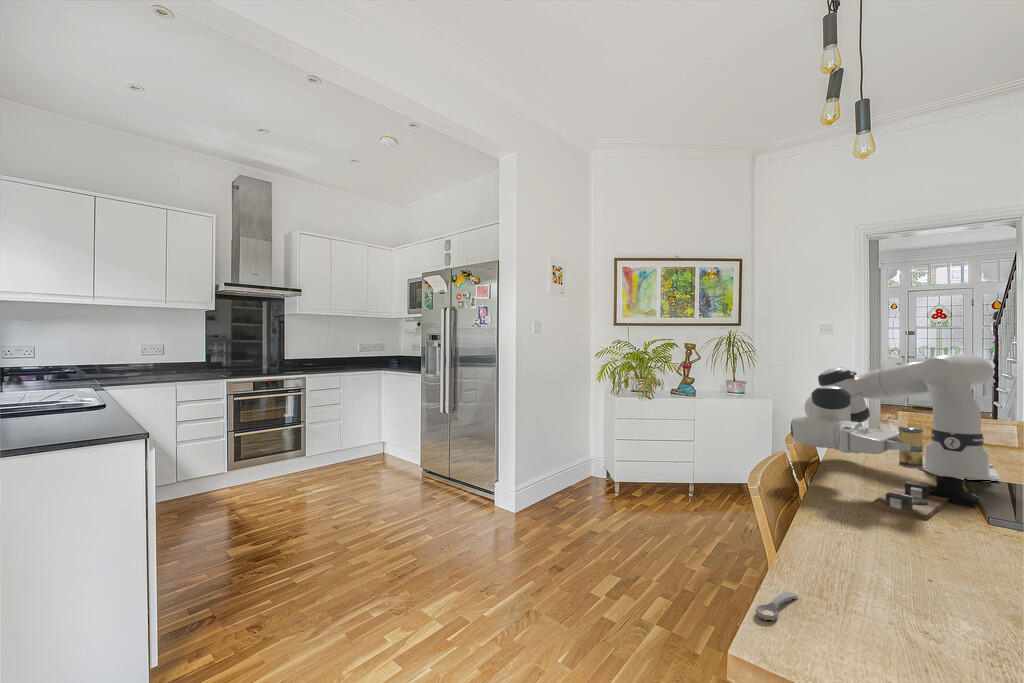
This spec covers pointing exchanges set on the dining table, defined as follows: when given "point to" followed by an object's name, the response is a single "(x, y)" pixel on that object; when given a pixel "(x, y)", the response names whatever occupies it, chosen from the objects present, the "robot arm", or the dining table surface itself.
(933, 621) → the dining table surface
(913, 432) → the yellow and grey cylinder
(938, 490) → the film camera
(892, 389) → the robot arm
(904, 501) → the board
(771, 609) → the grey bottle opener
